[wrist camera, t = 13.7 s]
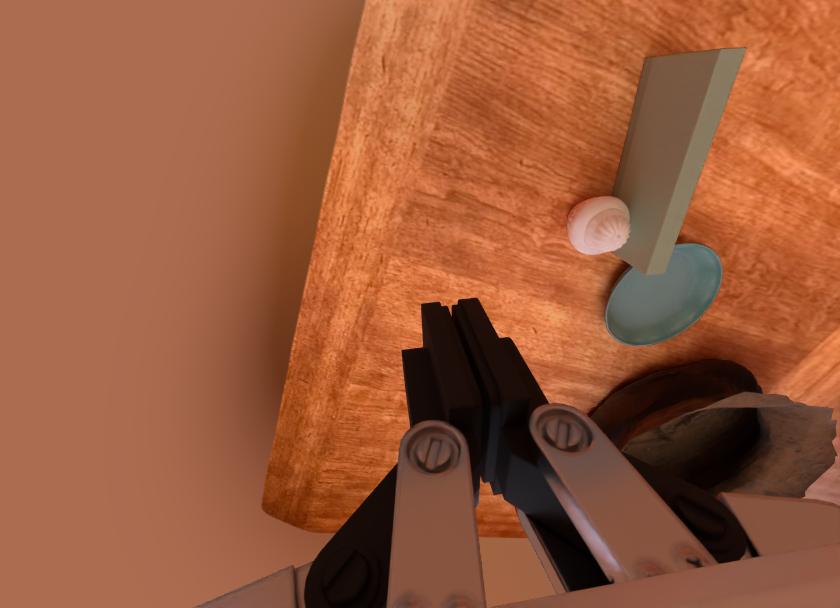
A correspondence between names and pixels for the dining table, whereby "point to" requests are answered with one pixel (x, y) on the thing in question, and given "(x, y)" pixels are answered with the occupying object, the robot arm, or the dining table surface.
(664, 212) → the wall
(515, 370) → the robot arm
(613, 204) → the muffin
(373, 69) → the dining table surface
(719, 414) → the bowl
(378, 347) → the dining table surface
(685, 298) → the saucer
